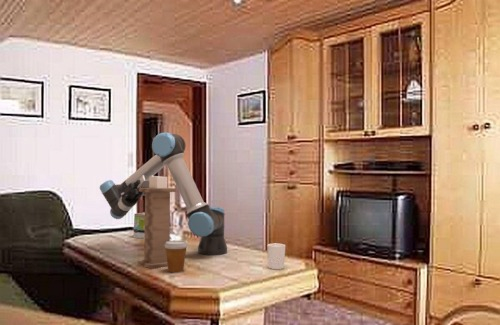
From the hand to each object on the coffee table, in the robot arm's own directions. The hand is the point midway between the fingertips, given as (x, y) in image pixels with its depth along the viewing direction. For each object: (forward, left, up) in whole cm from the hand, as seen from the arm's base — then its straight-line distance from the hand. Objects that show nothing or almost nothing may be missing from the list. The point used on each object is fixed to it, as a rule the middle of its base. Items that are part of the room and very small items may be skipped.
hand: (148, 177), depth 209 cm
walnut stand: (-6, +6, -38) cm, 39 cm away
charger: (-2, +2, -4) cm, 5 cm away
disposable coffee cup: (-17, +16, -39) cm, 45 cm away
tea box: (+21, -69, -39) cm, 82 cm away
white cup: (-59, +5, -39) cm, 71 cm away
